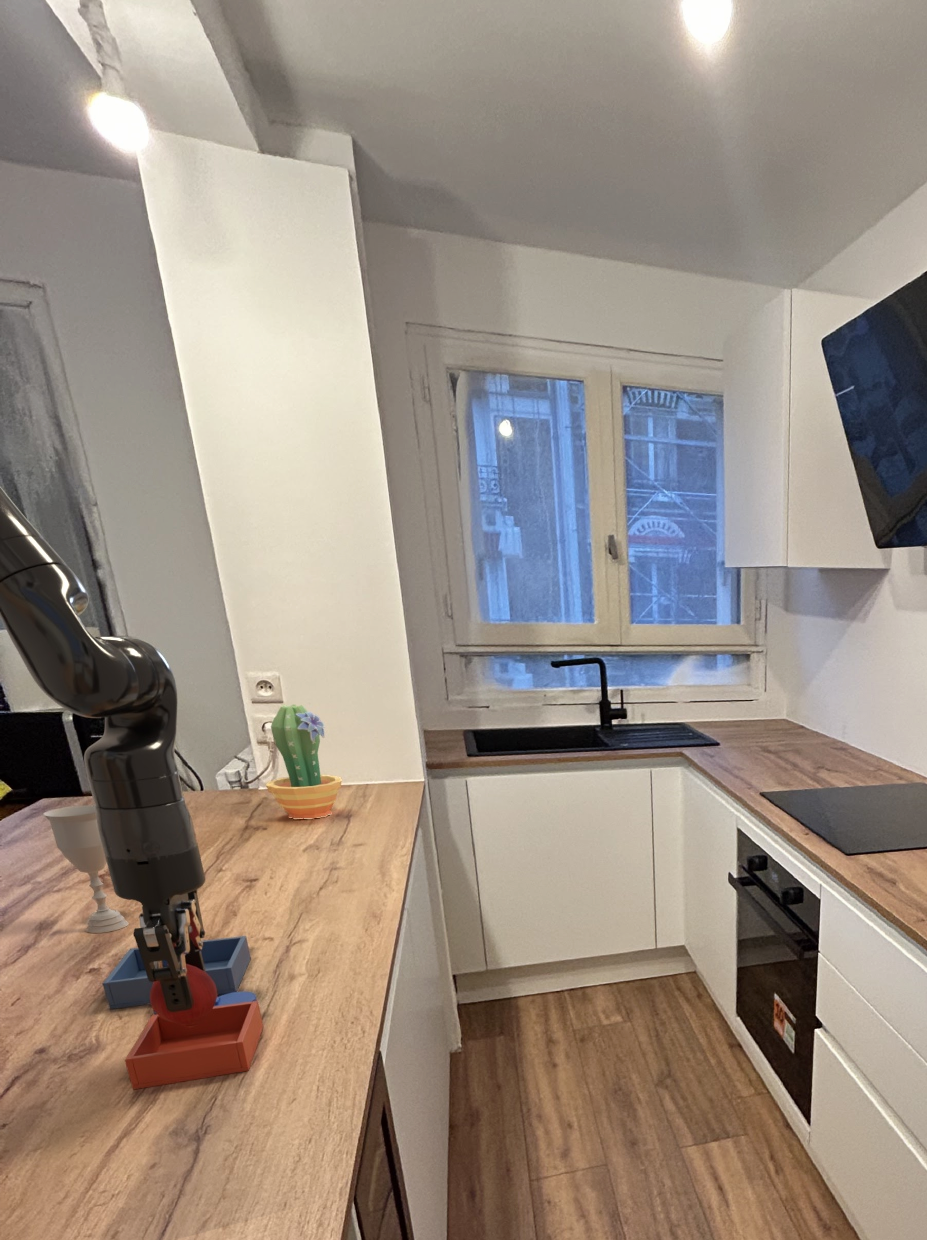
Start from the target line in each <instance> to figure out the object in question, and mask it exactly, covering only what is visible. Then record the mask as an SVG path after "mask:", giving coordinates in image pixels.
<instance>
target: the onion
mask: <svg viewBox="0 0 927 1240" xmlns="http://www.w3.org/2000/svg"><path fill="white" fill-rule="evenodd" d="M168 966H169V964H168ZM186 969H187V973H186V974H187V977H188V981H189V985H190V989H191V993H192V997H193V1001H194V1004H193V1006H192V1008H191V1009H189V1010H184V1011H177V1012H170V1011H168V1010H167V1008H166V1004H165V1000H164V996H163V992H162V988H161V984H160V981H155V982H154V983H153V985H152V988H151V991H150V1003H151V1004H150V1006H151V1008H152V1011H153V1010H154V1011H155V1012H156V1013H157V1014H158V1015H159V1016H160V1017H161V1018H162V1019H165V1020H167V1021H170V1022H173V1023H177V1024H180V1025H182V1026H184V1027H193V1026H195V1025H197V1024H198V1023H199V1022H200V1021H201V1020H202V1019H203V1018H204V1017H205V1016H207V1015H208V1014H209V1012H210V1011H211V1010H212V1009H213V1007H214V1005H215V1002H216V999H217V997H218V995H217V988H216V986H215V983H214V981H213V980H212V978H211V977H210V976H209V975H208V974H207V973H206V972H205V971H203V970H201V969H199V968H197V967H195V966H192V965H189V964H186ZM154 1011H153V1012H154Z"/></svg>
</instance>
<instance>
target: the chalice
mask: <svg viewBox="0 0 927 1240" xmlns="http://www.w3.org/2000/svg"><path fill="white" fill-rule="evenodd" d="M95 806H96V805H95V804H90V805H89V804H87V805H75V806H66V807H60V808H55V809H49V810H47V811H44V812H43V814H42V815H43V816H44V817H45V818H46V819H47V820H48V821H49V823H50V827H51V830H52V833H53V837H54V841H55V844H56V847H57V849H58V850H59V851H60V852H61V854H62V855H63V856H64V857H65V859H67V860H68V861H69V863H71V864H72V865H73V866H74V867H75V868H76V869H77V871H79V873H85V874H87V875H88V877H89V878H90V883H89V887H90V888H91V889H92V890H93V895H92V896H91V899H92V900H95V903H96V904H97V909H95V912H93V913H91V914H90V915H89V917H88V922H87V925H88V926H86V930H85V931H86V933H90V934H103V933H111V932H115V931H118V930H121V929H123V928H126V927H128V925H129V924H130V922H128V921H127V920H126V919H125V916H123V915H122V914H121V912H120V911H118V910H116V909H110V907H108V905H107V904H106V898H107V897H108V895H107V894H106V893H104V891H103V885H104V883H103V882H102V881H101V879H100V877H99V872H100V871H102V870H104V869H105V868H106V865H107V861H106V858H105V854H104V850H103V846H102V843H101V839H100V835H99V831H98V825H97V814H96V808H95Z"/></svg>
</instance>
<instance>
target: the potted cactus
mask: <svg viewBox="0 0 927 1240" xmlns="http://www.w3.org/2000/svg"><path fill="white" fill-rule="evenodd" d="M324 728H325V724H324V723H323V721H322V720H321V718H320V717H319V716H318V715H317V714H314V713H312V712H310V711H309V710H307V709H306V708H305V707H304V706H303V705H296V704H291V705H290V706H288V705H285V704H284V705H282V706H280V707H279V708H278V710H277V713H276V714H275V716H274V718H273V720H272V722H271V724H270V730H271V734H272V738H273V740H274V745H275V747H276V748H277V750H278V751H279V753H280V755H281V756H282V760H283V763H284V765H285V768H286V771H287V774H288V775H287V776H286V777H279V778H275V779H272V780H269V781H267V782H266V784H265V787H266V789H267V791H268V793H270V794H271V793H272V795H273V797H274V799H275V800H276V802H277V803H278V805H279V806H280V807H281V808H282V809H283V810H284V811H285V812H287V813H288V818H289V817H292V818H303V819H304V818H316V817H321V816H326V815H328V814H331V812H332V810H331V809H332V807H333V806H334V805H335V802H336V801H337V796H338V791H339V789H340V788H342V777H340V776H336V775H332V774H331V775H329V774H328V775H327V774H321V769H320V762H319V747H320V742H321V739H320V736H321V738H323V739H324V738H325V730H324Z"/></svg>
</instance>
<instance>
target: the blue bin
mask: <svg viewBox="0 0 927 1240" xmlns="http://www.w3.org/2000/svg"><path fill="white" fill-rule="evenodd" d="M201 941H202V942H203V946H202V949H200V950H201V954H202V958H203V962H204V966H205V971H206V973H207V974H208V975H209V976H210V977H211V978H212V980H213V981H214V983H215V986H216V988H217V996H222V995H225V994H228V993H233V992H238V989H239V987H240V986H241V983H242V980H243V978H244V976H245V974H246V972H247V969H248V967H249V965H250V962H251V960H252V957H251V951H250V947H249V942H248V939H247V936H246V935H243V936H233V937H232V936H231V937H223V938H215V939H206V940H201ZM198 951H199V950H198ZM162 964H163V968H164V967H169V966H168V962H167V961H165V960H163V961H162ZM153 983H154V982H150V981H149V980H148V978H147V974H146V970H145V967H144V964H143V961H142V958H141V955H140V952H139V949H138V947H133V948H129V950H127V952H126V953H125V954H124V956H123V957H122V958H121V959H120V961H118V963H117V964H116V966H115V967H114V968H113V969H112V971H111V972H110V973H109V974H108V976H107V977H106V978H105V979H104V981H103V982H102V987H103V991H104V994H105V997H106V1001H107V1005H108V1008H109V1010H114V1009H115V1010H116V1009H122V1008H129V1007H130V1008H131V1007H136V1006H137V1007H138V1006H145V1005H151V1003H150V991H151V988H152V985H153Z"/></svg>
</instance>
